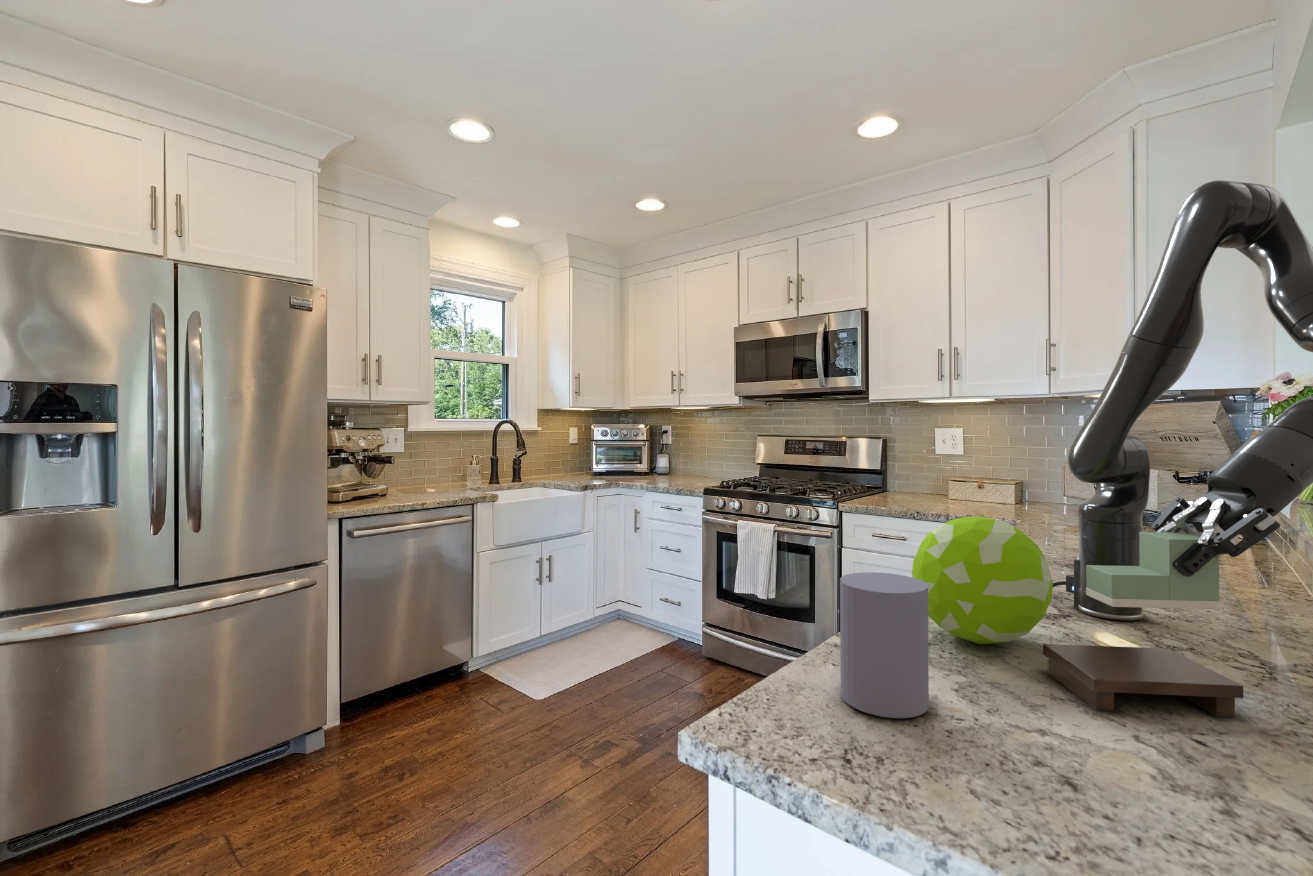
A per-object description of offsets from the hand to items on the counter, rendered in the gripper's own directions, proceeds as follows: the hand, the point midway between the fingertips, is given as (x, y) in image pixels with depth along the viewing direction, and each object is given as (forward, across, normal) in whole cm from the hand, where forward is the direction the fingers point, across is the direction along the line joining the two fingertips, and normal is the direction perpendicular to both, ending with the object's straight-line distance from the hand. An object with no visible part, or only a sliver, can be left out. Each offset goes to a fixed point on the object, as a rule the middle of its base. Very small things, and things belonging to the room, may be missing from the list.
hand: (1162, 565), depth 75 cm
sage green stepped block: (+4, 0, +2) cm, 5 cm away
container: (+37, +6, -13) cm, 40 cm away
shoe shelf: (+14, 0, +9) cm, 17 cm away
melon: (+22, -20, +2) cm, 29 cm away
